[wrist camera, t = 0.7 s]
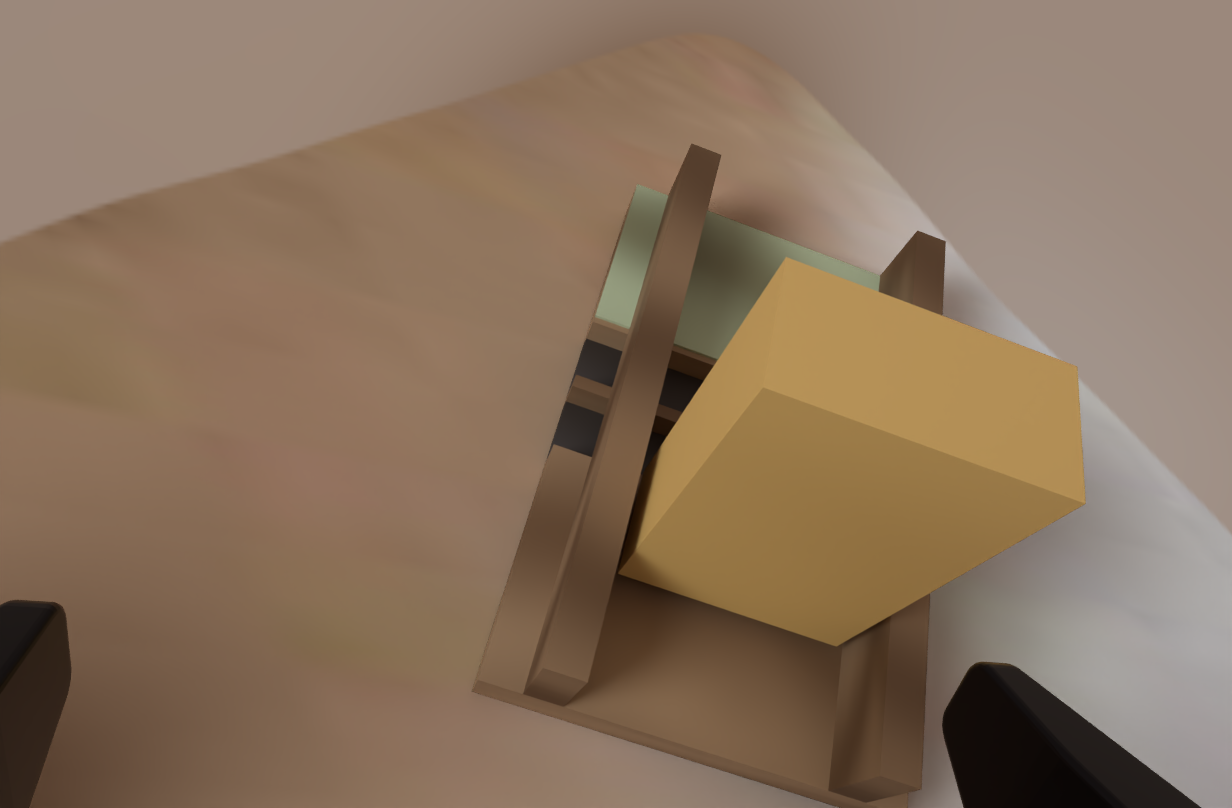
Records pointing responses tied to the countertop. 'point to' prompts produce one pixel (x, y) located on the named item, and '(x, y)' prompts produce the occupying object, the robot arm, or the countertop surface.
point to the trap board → (666, 621)
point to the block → (853, 460)
